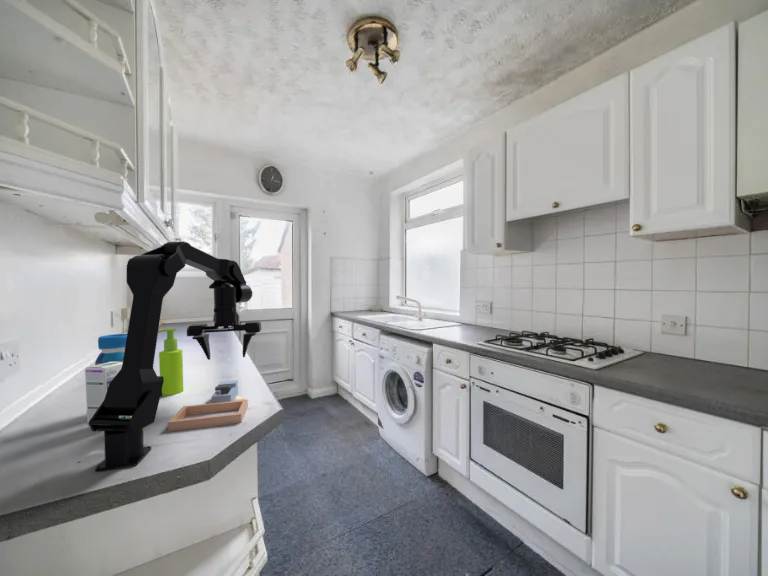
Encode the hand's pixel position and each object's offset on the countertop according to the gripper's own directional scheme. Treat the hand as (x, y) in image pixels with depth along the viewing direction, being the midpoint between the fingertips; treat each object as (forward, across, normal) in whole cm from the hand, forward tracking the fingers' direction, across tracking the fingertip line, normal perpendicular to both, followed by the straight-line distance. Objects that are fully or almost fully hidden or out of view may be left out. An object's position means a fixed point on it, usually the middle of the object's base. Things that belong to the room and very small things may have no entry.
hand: (226, 358), depth 93 cm
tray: (+12, +1, +16) cm, 20 cm away
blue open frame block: (+11, 0, +4) cm, 12 cm away
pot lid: (+12, 0, +5) cm, 13 cm away
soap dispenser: (+12, +18, -9) cm, 23 cm away
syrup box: (+12, +24, +11) cm, 29 cm away
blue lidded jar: (+12, +27, +1) cm, 29 cm away
